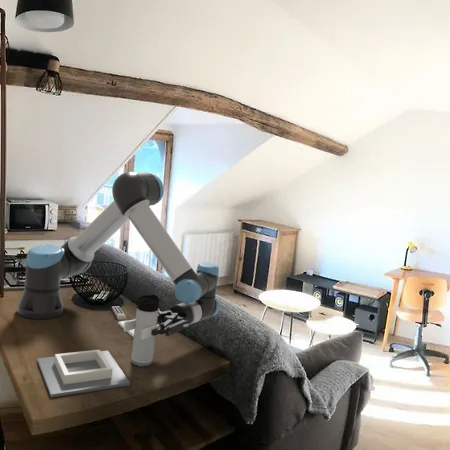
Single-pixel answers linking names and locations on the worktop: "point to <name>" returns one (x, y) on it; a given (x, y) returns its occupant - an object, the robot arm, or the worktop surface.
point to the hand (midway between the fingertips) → (133, 330)
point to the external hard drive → (126, 331)
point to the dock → (81, 372)
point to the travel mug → (144, 319)
